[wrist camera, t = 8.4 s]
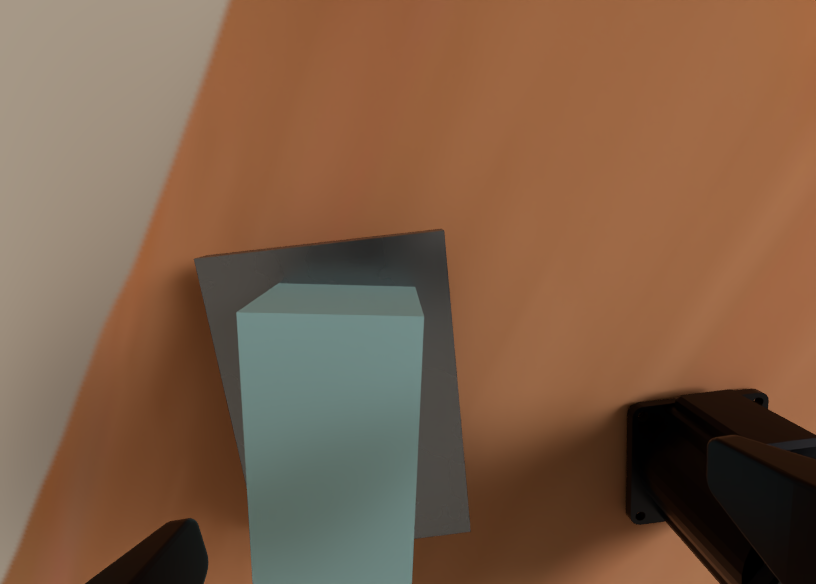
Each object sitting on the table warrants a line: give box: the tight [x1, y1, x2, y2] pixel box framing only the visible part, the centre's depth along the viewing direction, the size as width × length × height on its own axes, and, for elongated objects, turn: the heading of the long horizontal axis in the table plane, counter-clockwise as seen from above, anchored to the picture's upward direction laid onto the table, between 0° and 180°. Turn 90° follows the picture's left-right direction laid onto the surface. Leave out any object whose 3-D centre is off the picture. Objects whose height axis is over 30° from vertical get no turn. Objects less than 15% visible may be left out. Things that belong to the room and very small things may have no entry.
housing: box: [236, 283, 424, 584], centre depth 14 cm, size 5×10×4 cm, turn 178°
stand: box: [194, 229, 471, 539], centre depth 17 cm, size 13×9×2 cm
